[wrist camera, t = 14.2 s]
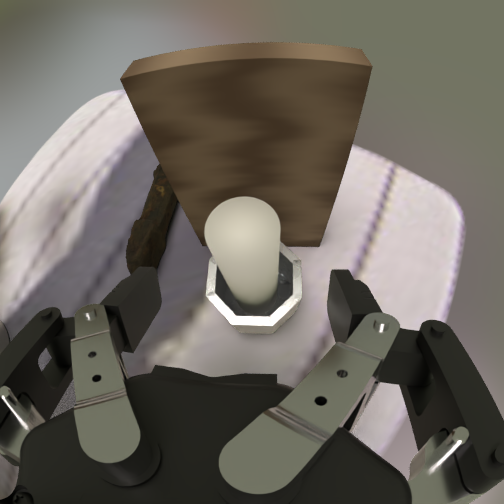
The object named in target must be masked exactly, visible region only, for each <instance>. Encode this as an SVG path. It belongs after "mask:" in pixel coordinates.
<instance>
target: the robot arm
mask: <svg viewBox="0 0 504 504" xmlns="http://www.w3.org/2000/svg"><path fill="white" fill-rule="evenodd" d="M161 302H162V298H161V292H160V287H159V282H158V276H157V271H156V269H155V268H154V267H138V268H137V269H136V270H135V271H134V272H133V273H132V274H131V276H129V277H127V278H125V279H124V280H122V281H121V282H120V283H119V284H118V285H117V286H116V288H114V289H113V290H112V292H110V293H109V294H108V295H107V296H106V297H105V298H104V300H103V301H102V302H101V303H100V304H90V305H86V306H84V307H82V308H80V309H79V310H78V311H77V312H76V313H75V317H70V318H63V317H62V314H61V312H60V310H59V309H58V308H55V307H51V308H46V309H44V310H42V311H40V312H39V313H38V314H36V315H35V316H34V318H33V319H32V320H31V321H30V322H29V323H28V324H27V325H26V326H25V327H24V328H23V329H22V330H21V331H20V332H19V333H18V334H17V335H16V337H15V338H14V339H13V340H12V341H11V342H10V343H9V337H8V334H7V330H6V328H5V326H4V325H3V323H2V322H1V321H0V454H1V455H2V456H3V457H4V458H5V459H6V460H7V461H8V462H10V463H11V464H12V465H14V466H19V474H18V479H17V484H16V487H15V489H14V491H13V493H12V494H11V495H10V496H8V497H7V498H4V499H2V500H0V504H469V503H470V502H472V501H473V500H475V499H477V498H478V497H480V496H481V495H483V494H484V493H486V492H487V491H488V490H490V489H491V488H493V487H494V486H495V485H497V484H498V483H499V482H501V481H502V480H503V479H504V420H503V418H502V416H501V414H500V412H499V410H498V408H497V406H496V403H495V402H494V400H493V398H492V396H491V394H490V392H489V390H488V388H487V386H486V384H485V383H484V381H483V379H482V377H481V375H480V374H479V372H478V370H477V369H476V367H475V365H474V363H473V362H472V360H471V358H470V357H469V355H468V354H467V352H466V351H465V349H464V347H463V346H462V344H461V342H460V341H459V340H458V338H457V336H456V335H455V333H454V332H453V330H452V329H451V328H450V327H449V326H448V325H447V324H445V323H443V322H441V321H437V320H427V321H425V322H423V323H422V324H421V327H420V330H419V331H415V330H408V329H402V328H400V324H399V322H398V321H397V319H395V318H394V317H393V316H391V315H388V314H385V313H383V312H382V311H381V309H380V307H379V305H378V303H377V302H376V300H375V299H374V296H373V295H372V293H371V291H370V290H369V288H368V286H367V285H366V284H364V283H363V282H361V281H360V280H354V279H353V277H352V275H351V273H350V271H349V270H348V269H347V270H332V271H331V275H330V283H329V292H328V300H327V311H328V316H329V320H330V323H331V327H332V331H333V334H334V338H335V342H336V344H335V345H334V346H333V347H332V348H331V349H330V351H329V352H328V353H327V354H326V355H325V356H324V358H323V359H322V360H321V361H320V362H319V363H318V364H317V365H316V366H315V368H314V369H313V370H312V371H311V372H310V373H309V374H308V375H307V376H306V377H305V378H304V379H303V381H302V382H301V383H300V384H299V385H298V386H297V387H296V388H295V389H294V388H292V387H289V386H286V385H283V384H278V383H277V374H247V373H245V374H238V375H230V376H221V377H208V376H205V375H201V374H198V373H195V372H192V371H189V370H185V369H182V368H173V367H166V366H158V365H155V367H154V369H153V371H152V373H148V374H141V375H137V376H134V377H130V378H129V376H128V373H127V370H126V367H125V364H124V361H123V358H122V356H121V353H122V352H123V351H124V352H130V353H134V351H135V349H136V348H137V346H138V344H139V343H140V341H141V339H142V338H143V336H144V334H145V333H146V331H147V329H148V328H149V326H150V324H151V323H152V321H153V319H154V318H155V316H156V315H157V313H158V311H159V310H160V307H161ZM45 348H47V350H48V352H49V354H50V356H51V357H52V359H51V360H50V361H49V363H48V364H47V366H46V367H45V368H44V370H43V371H41V370H40V368H39V365H38V358H39V356H40V354H41V353H42V352H43V351H44V349H45ZM73 379H74V387H75V395H76V405H75V406H74V407H73V408H71V409H70V410H68V411H66V412H64V413H62V414H60V415H58V416H56V417H54V418H52V419H50V417H51V416H52V414H53V412H54V410H55V408H56V407H57V405H58V403H59V401H60V400H61V398H62V396H63V395H64V393H65V391H66V389H67V388H68V386H69V384H70V383H71V381H72V380H73ZM380 382H384V383H391V384H399V386H400V389H401V392H402V395H403V398H404V401H405V405H406V408H407V411H408V415H409V418H410V422H411V425H412V429H413V433H414V436H415V440H416V444H417V448H418V453H417V454H416V455H415V456H414V458H413V459H412V461H411V463H410V475H409V479H408V481H407V480H406V478H405V477H404V476H403V475H402V473H400V471H398V470H397V469H396V468H395V467H393V466H392V465H391V464H389V463H388V462H387V461H385V460H384V459H383V458H382V457H380V456H379V455H378V454H376V453H375V452H374V451H373V450H371V449H370V448H369V447H368V446H366V445H365V444H364V443H363V442H361V441H360V440H359V439H358V438H356V437H355V436H354V435H353V434H351V432H352V430H353V429H354V427H355V425H356V423H357V421H358V420H359V418H360V416H361V414H362V413H363V411H364V410H365V408H366V406H367V405H368V403H369V401H370V400H371V398H372V396H373V394H374V393H375V391H376V389H377V387H378V386H379V384H380ZM49 419H50V420H49Z"/></svg>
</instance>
